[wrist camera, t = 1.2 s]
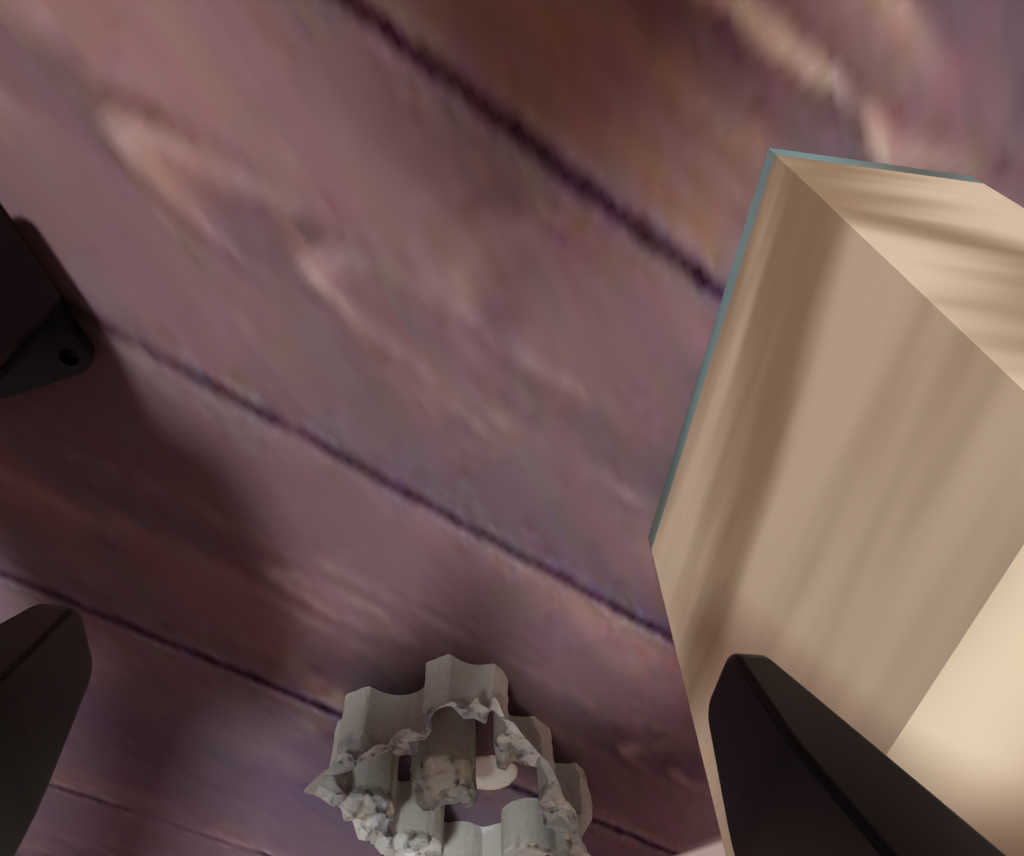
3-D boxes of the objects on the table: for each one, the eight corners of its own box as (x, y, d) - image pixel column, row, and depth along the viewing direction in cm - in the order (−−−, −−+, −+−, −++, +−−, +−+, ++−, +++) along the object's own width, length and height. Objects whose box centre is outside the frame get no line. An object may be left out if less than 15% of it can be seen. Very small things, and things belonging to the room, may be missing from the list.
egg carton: (605, 787, 33) (619, 891, 30) (442, 834, 35) (438, 937, 32) (495, 629, 28) (497, 733, 24) (307, 693, 29) (284, 799, 26)
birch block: (648, 536, 25) (751, 961, 15) (768, 147, 19) (1086, 450, 9) (801, 550, 26) (997, 970, 16) (970, 175, 19) (1490, 492, 9)
